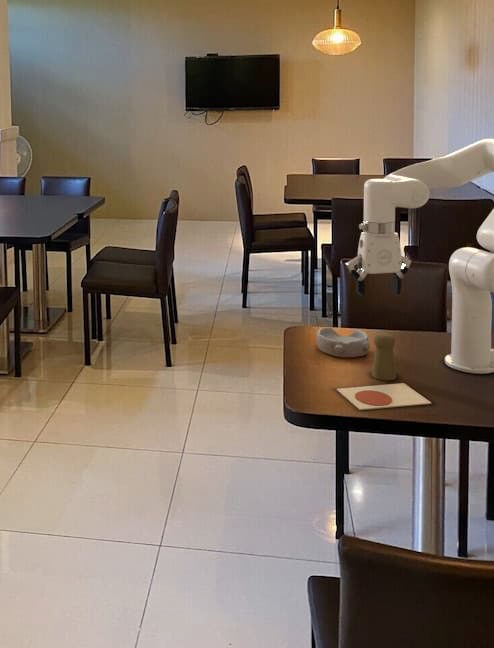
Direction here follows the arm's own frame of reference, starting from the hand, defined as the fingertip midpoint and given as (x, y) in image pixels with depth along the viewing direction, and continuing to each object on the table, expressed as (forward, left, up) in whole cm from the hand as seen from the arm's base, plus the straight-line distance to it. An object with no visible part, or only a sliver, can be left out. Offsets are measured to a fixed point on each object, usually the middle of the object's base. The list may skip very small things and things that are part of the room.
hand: (378, 293), depth 188 cm
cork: (-2, 0, -22) cm, 22 cm away
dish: (0, -19, -22) cm, 29 cm away
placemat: (+5, +12, -22) cm, 25 cm away
